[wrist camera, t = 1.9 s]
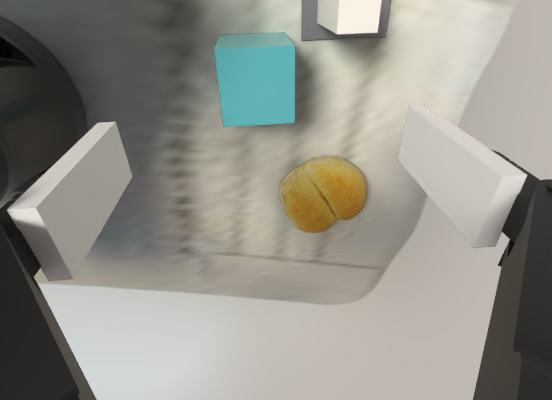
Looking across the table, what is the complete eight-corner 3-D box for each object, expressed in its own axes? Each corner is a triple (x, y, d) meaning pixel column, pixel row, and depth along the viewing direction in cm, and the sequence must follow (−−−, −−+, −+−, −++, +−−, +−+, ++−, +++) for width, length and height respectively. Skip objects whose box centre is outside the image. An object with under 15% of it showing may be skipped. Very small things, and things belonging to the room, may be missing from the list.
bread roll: (371, 198, 37) (384, 219, 34) (299, 229, 39) (304, 253, 35) (346, 137, 33) (358, 154, 29) (266, 176, 34) (269, 197, 31)
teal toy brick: (227, 99, 29) (223, 126, 24) (220, 35, 27) (213, 49, 21) (285, 96, 30) (294, 122, 24) (284, 32, 27) (295, 45, 21)
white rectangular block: (317, 22, 26) (336, 34, 21) (318, -16, 25) (340, -15, 19) (348, 21, 27) (377, 32, 21) (352, -18, 25) (383, -17, 19)
